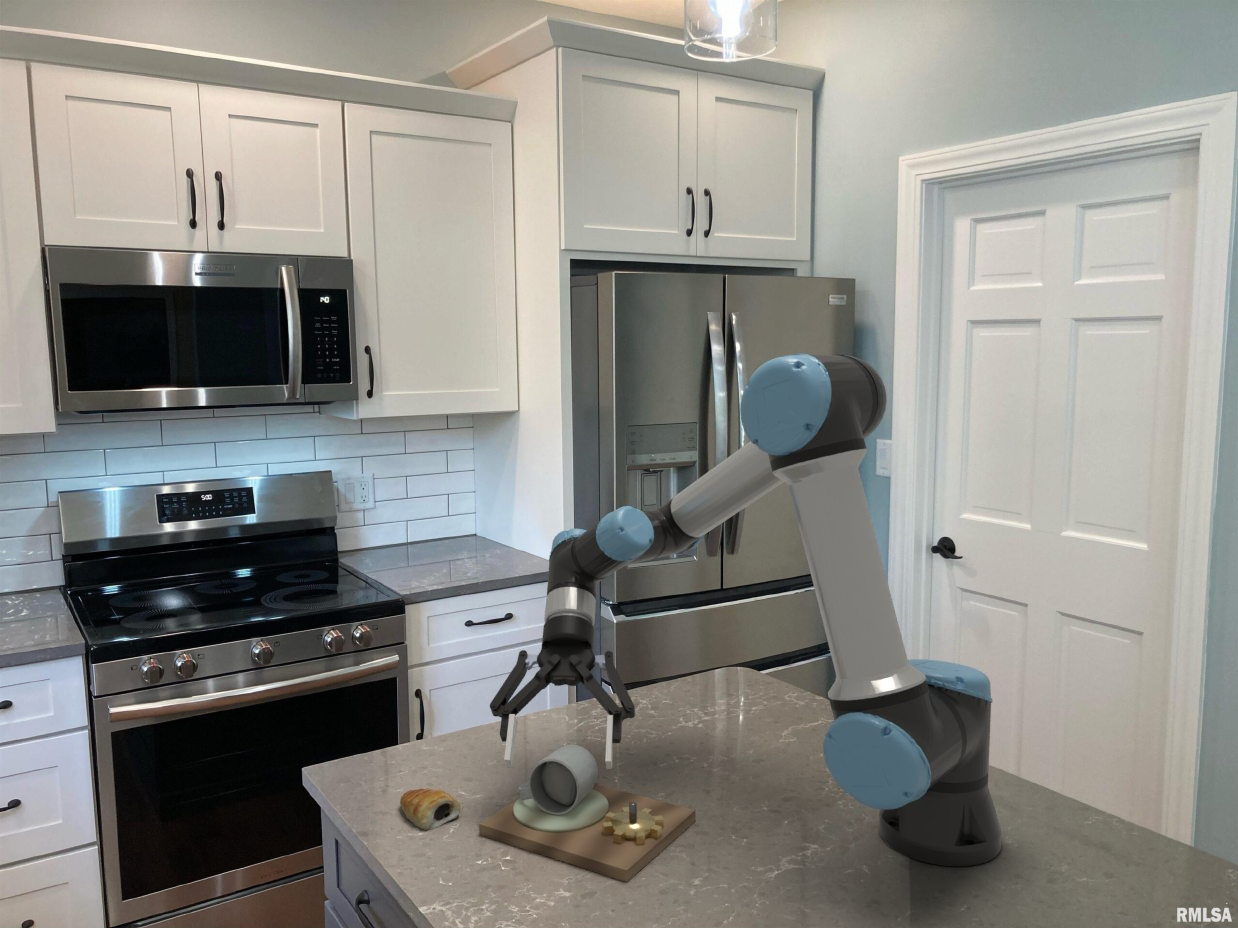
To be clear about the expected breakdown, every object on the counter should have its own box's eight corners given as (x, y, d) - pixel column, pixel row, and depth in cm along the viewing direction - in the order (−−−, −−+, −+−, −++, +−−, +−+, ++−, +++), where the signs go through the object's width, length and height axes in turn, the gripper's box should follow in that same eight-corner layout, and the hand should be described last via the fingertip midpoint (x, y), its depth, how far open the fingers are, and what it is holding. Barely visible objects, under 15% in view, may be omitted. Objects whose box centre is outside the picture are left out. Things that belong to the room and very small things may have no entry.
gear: (674, 824, 126) (674, 798, 125) (644, 850, 119) (643, 823, 118) (623, 810, 130) (622, 784, 129) (590, 834, 123) (590, 808, 123)
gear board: (695, 820, 130) (695, 806, 129) (627, 881, 114) (626, 866, 114) (557, 783, 142) (557, 770, 142) (479, 834, 126) (478, 820, 126)
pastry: (387, 811, 134) (387, 785, 133) (428, 796, 139) (428, 771, 138) (425, 834, 127) (424, 807, 127) (466, 818, 132) (466, 791, 131)
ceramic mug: (602, 793, 134) (600, 740, 133) (579, 819, 126) (577, 763, 125) (534, 783, 137) (532, 732, 137) (508, 808, 130) (505, 754, 129)
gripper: (653, 637, 144) (651, 776, 130) (490, 636, 145) (471, 773, 132) (652, 612, 138) (650, 754, 125) (482, 611, 139) (462, 751, 126)
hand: (558, 764), depth 128 cm, fingers open, 13 cm apart
